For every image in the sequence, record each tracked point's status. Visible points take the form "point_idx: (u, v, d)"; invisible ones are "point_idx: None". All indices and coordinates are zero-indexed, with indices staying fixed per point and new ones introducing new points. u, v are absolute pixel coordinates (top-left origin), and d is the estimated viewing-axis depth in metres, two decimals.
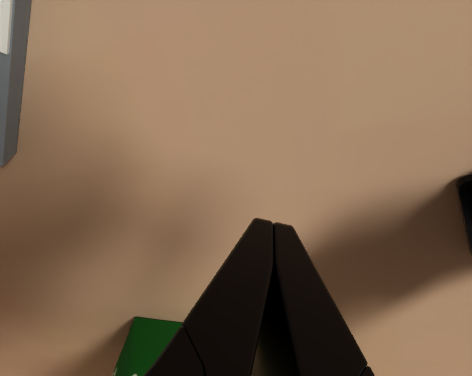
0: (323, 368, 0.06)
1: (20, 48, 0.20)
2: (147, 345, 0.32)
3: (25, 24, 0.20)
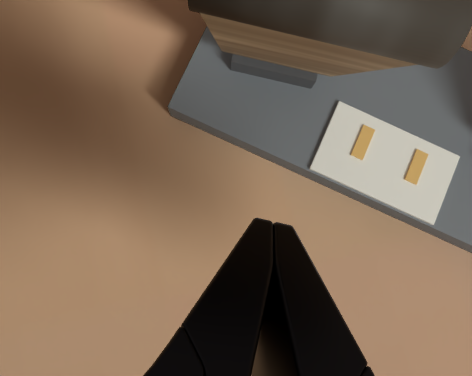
0: (323, 368, 0.06)
1: (303, 173, 0.21)
2: None
3: (323, 183, 0.21)
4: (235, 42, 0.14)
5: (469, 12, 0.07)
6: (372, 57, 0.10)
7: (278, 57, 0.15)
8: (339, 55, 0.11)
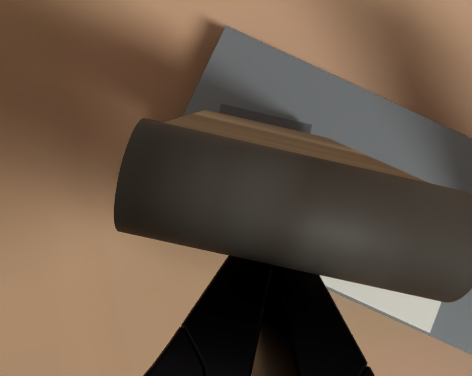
0: (323, 368, 0.06)
1: None
2: None
3: None
4: None
5: None
6: None
7: None
8: None
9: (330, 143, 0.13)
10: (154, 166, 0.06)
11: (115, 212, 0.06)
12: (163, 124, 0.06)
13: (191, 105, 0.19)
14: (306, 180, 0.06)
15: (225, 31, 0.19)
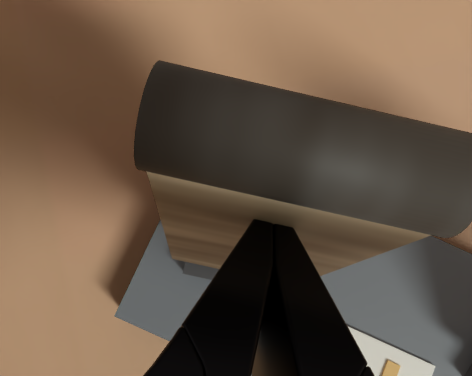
0: (323, 368, 0.06)
1: None
2: None
3: None
4: (189, 237, 0.12)
5: None
6: (362, 234, 0.08)
7: None
8: (317, 238, 0.09)
9: None
10: (180, 75, 0.06)
11: (139, 113, 0.06)
12: None
13: None
14: (316, 98, 0.06)
15: None
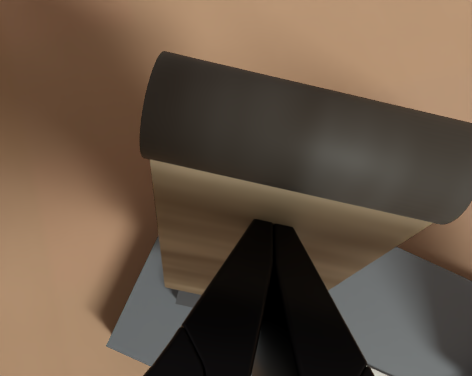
0: (323, 368, 0.06)
1: None
2: None
3: None
4: (185, 252, 0.11)
5: None
6: (362, 230, 0.08)
7: None
8: (317, 241, 0.09)
9: None
10: (186, 61, 0.06)
11: (146, 93, 0.06)
12: None
13: None
14: (315, 87, 0.07)
15: None
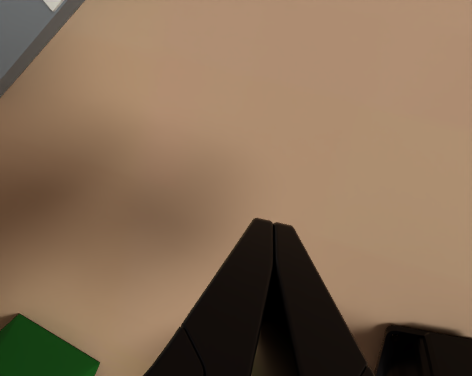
0: (323, 368, 0.06)
1: (67, 12, 0.20)
2: (17, 350, 0.28)
3: None
4: None
5: None
6: None
7: None
8: None
9: None
10: None
11: None
12: None
13: None
14: None
15: None
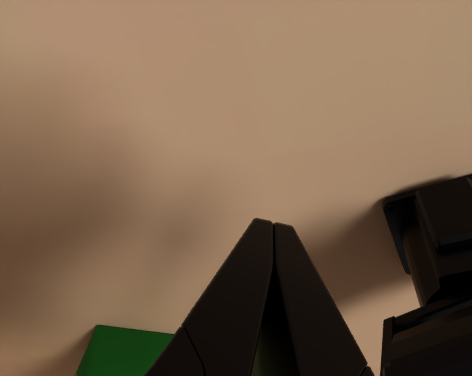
0: (323, 368, 0.06)
1: None
2: (106, 353, 0.33)
3: None
4: None
5: None
6: None
7: None
8: None
9: None
10: None
11: None
12: None
13: None
14: None
15: None
